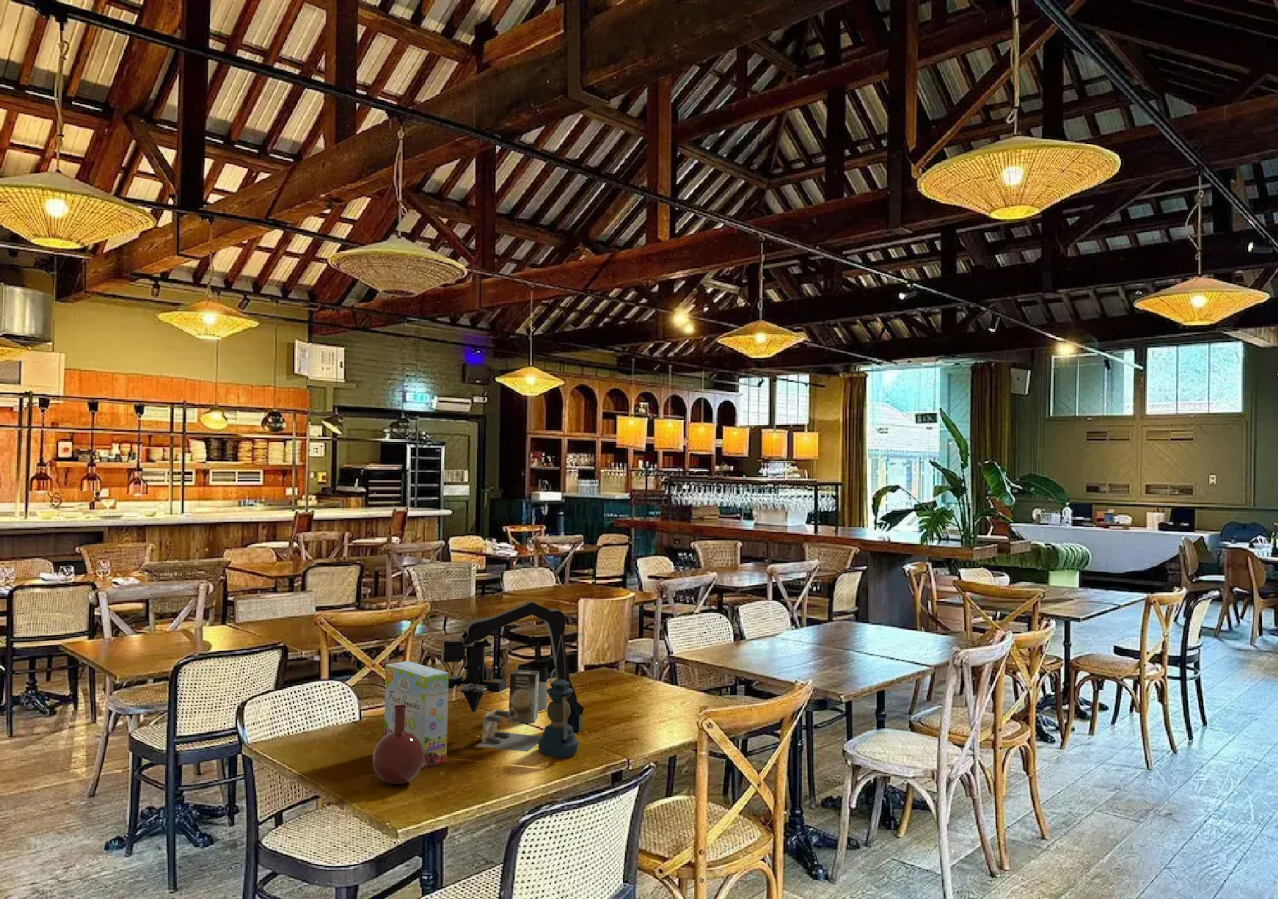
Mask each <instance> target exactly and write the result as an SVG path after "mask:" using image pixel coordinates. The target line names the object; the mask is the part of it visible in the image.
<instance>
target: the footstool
mask: <svg viewBox="0 0 1278 899" xmlns="http://www.w3.org/2000/svg"><path fill="white" fill-rule="evenodd" d="M509 716H510V711H509V710H503V709H493V710H491V711H489V712H487V713H486V714H484V715H482V733H481V734H482V738H481V742H483V743H493V744H500V743H501V738H509V736H510V733H511V732H509V731H500V730H499V731H498V723H501V722H502V717H506V718H507V717H508V718H509ZM494 737H500V738H494Z"/></svg>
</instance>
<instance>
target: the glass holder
mask: <svg viewBox="0 0 1278 899" xmlns="http://www.w3.org/2000/svg"><path fill="white" fill-rule="evenodd" d="M525 670H528V671H539V690H538V711H542V710H545V709H547V708H548V704H549V702H548V701H549V700H550V699H551V697H550V696H548V693H547V691H546V690H547V689H548V683H549V682H550V683H551V682H552V679H553V674H554V673H555V668H554V669H553V670H552V671H551V673H550V679H549V680H548V665H545V664H529V665H527V666H526V668H525Z"/></svg>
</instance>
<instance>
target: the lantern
mask: <svg viewBox="0 0 1278 899" xmlns="http://www.w3.org/2000/svg"><path fill="white" fill-rule="evenodd" d="M561 639H562V634H561V636H560V640H561ZM559 645H560V641H559ZM562 647H563V641H562ZM558 650H559V646H558ZM557 654H558V651H557ZM563 655H564V649H563ZM556 661H557V655H556ZM564 663H565V656H564ZM554 669H555V671H554V680H553V681H550V683H549V685H550V687H549V688H548V687H547V690H546V691H547V696H548V697H551V698H550V699H551V701H550V702H548V704H547V707H548V708H547V711H546V714H547V717H548V719H549V720H550V721H551V722H550V724H547V725H546V726H544V731H543V732H542V739H540V740H539V742H538V744H537V746H538V751H539V753H540V754H541V755H543V756H545V757H552V758H554V759H565V758H570V757H573V756H575V755H576V754H577V751H578V748H579V740H578V739H577V738H575V734H576V733H574V732H573V727H572V726H570V725H568V723H567V719H568V718H569V716H570V705H569V703H568V702H567V700H568V697H569V696H571V693H572V692H573V689H571V688H567V687H568V686H569V682H567V681H565V680H562V679H558V680H557V679H556V665H554ZM565 675H566V665H565ZM575 753H576V754H575ZM574 754H575V755H574Z"/></svg>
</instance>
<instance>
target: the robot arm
mask: <svg viewBox="0 0 1278 899" xmlns="http://www.w3.org/2000/svg"><path fill="white" fill-rule="evenodd" d="M529 616H534V617H536V618H538V619H541V620H542V621H543V623H544V625H545V627H546V628H545V629H546V631H547V633H548V636H549V638H550V644H551V650H552V657H553V658H552V659H553V664H554V665H553V666H555V665H556V680H558V679H562V680H565V681H567V682H569V686H568V687H567V688H571V689H573V692H572V693H571V696H569V697H568V700H567V702H568V703H569V705H570V716H569V718H568V719H567V723H568V725H570V726H572V727H573V732H574V733H575V734H579V733H580V732H581V731H583V730H584V729H585V728H584V727H583V712H584V711H585V708H584V707H583V705H582V704H581V703H579V702H578V697H577V694H576V691H575V688H574V686H573V684H572V682H571V679H570V672H569V665H568V660H567V659H568V658H567V653H566V652H567V651H566V644H565V638H564V636H565V631H566V615H565V614H564V613H563V612H562V611H561V610H559V609H557V608H554V607H551V608H547V607H545V606H543V605H539V604H538V603H536V602H535V601H533V600H527V601H526V602H524V603H523V604H520V605H517V606H515V607H512V608H510V609H508V610H505V611H503V612H500V613H497V614H495V615H491V616H488V617H487V616H486V617H480V618H475V619H472V620H469V621H468V622H467V624H466V626H465V630H464V632H463V634H461V636H460V637H459V639H458V640H455V639H454V640H447V639H446V640H445V639H444V640H443V641H442V646H441V647H442V648H441V655H440V656H441V658H440V659H441V663H442V664H445V663H446V664H449V663H451V664H452V663H461V662H462V661H463V660H464V659H465V665H464V666H463V670H465V678H463V676H460V675H451V676H449V679H448V689H450V690H451V689H454V688H455V686H459V687H460V686H461V690H459V692H460V693H462V694H463V695H464V697H465V699H466V700H467V703H468V705H469V708H470V710H471V712H472V713H476V712H477V709H478V707H479V704H480V701H481V699H482V697H483V695H484V693H486V692H489V693H500V692H502V691H504V690H506V688H507V686H506V685H507V684H506V681H505V679H500V678H499V679H498V678H493V679H492V675H493V669H490V668H488V667H487V663H486V662H485V660H486V659H485V657H486V655H485V654H486V648H489V647H492V644H491V642H489V641H488V639H487V637H488V636H490V635H491V634H492V633H494V632H495V631H496V630H498V629H500V628H502V627H505V626H508V625H509V624H513V623H514V622H517V621H519V620H520V621H521V620H522V619H525V618H527V617H529ZM561 634H562V639H561V640H560V636H561ZM559 641H560V645H559ZM562 641H563V647H562ZM558 646H559V650H558ZM563 649H564V655H563ZM557 651H558V654H557ZM556 655H557V661H556ZM564 656H565V663H564ZM565 665H566V675H565Z"/></svg>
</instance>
